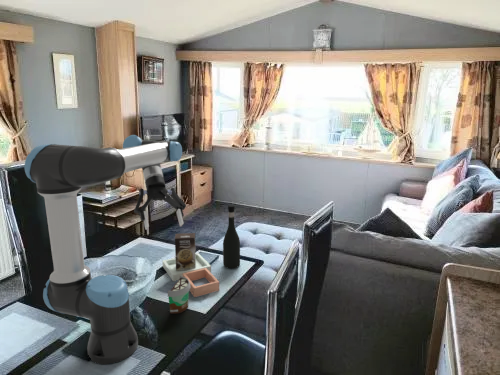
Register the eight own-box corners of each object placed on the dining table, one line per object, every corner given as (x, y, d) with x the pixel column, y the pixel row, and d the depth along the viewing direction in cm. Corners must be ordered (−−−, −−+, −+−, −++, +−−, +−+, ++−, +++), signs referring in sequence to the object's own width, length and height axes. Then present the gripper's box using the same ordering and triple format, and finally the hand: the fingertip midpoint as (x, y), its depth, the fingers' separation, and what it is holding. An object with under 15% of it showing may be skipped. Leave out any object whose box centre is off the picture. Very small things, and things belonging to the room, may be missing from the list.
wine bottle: (220, 264, 172) (219, 205, 165) (233, 260, 177) (233, 202, 170) (229, 271, 166) (229, 209, 159) (243, 266, 171) (243, 206, 163)
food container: (184, 317, 131) (183, 293, 129) (168, 315, 133) (167, 291, 130) (195, 299, 143) (195, 277, 141) (181, 297, 144) (180, 275, 142)
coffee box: (175, 271, 163) (174, 238, 159) (176, 265, 170) (175, 233, 166) (196, 270, 165) (194, 237, 161) (196, 264, 171) (195, 232, 167)
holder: (194, 297, 145) (194, 288, 144) (182, 281, 157) (182, 273, 156) (219, 290, 150) (219, 281, 149) (206, 276, 162) (206, 267, 161)
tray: (173, 281, 157) (172, 275, 156) (162, 266, 170) (162, 260, 170) (211, 271, 166) (211, 265, 165) (198, 258, 179) (198, 252, 178)
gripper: (180, 183, 156) (192, 227, 147) (120, 185, 142) (129, 234, 133) (185, 174, 150) (198, 219, 141) (124, 175, 137) (133, 224, 128)
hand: (164, 226), depth 137 cm, fingers open, 13 cm apart
